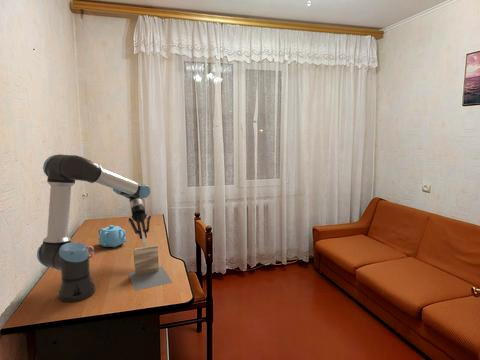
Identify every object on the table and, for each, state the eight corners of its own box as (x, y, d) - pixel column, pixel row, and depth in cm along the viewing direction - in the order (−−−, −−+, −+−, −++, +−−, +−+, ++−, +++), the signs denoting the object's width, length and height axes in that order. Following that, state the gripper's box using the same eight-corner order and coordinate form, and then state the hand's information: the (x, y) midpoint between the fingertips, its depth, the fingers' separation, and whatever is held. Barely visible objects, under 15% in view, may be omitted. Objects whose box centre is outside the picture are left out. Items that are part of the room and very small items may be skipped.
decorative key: (60, 263, 189) (95, 255, 193) (59, 264, 188) (95, 255, 192) (57, 253, 188) (92, 244, 192) (56, 253, 186) (92, 245, 191)
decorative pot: (100, 251, 201) (99, 230, 199) (98, 243, 215) (96, 224, 213) (127, 246, 209) (126, 226, 207) (123, 239, 223) (122, 221, 221)
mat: (172, 283, 157) (172, 282, 157) (135, 291, 149) (135, 290, 148) (162, 267, 176) (162, 266, 176) (128, 273, 168) (128, 272, 168)
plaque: (158, 270, 170) (157, 245, 168) (135, 275, 165) (134, 249, 163) (157, 269, 172) (156, 244, 170) (135, 273, 167) (133, 248, 165)
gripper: (148, 210, 193) (155, 244, 181) (125, 212, 187) (131, 248, 175) (149, 203, 188) (157, 238, 176) (126, 205, 182) (132, 242, 170)
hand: (144, 243), depth 175 cm, fingers closed
